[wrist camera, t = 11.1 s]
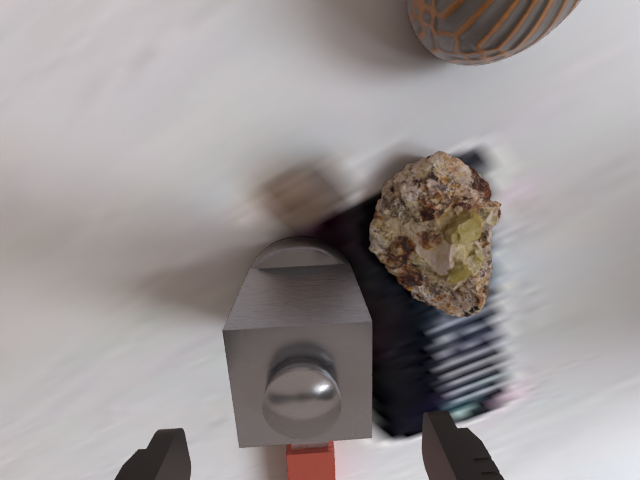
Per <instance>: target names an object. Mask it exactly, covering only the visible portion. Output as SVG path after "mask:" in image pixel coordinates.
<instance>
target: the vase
mask: <svg viewBox="0 0 640 480" xmlns="http://www.w3.org/2000/svg"><path fill="white" fill-rule="evenodd" d="M406 1H407V10H408V15H409V19H410V22H411V25H412V28H413V30H414V32H415V34H416V36H417V37H418V39H419V40H420V42H421V43H422V44H423V45H424V47H425V48H426V49H427V50H429V51H430V52H431V53H432V54H433V55H435V56H436V57H438V58H440V59H442V60H444V61H447V62H450V63H454V64H458V65H484V64H489V63H493V62H496V61H500V60H503V59H505V58H508V57H511V56H513V55H515V54H517V53H519V52H521V51H523V50H525V49H527V48H529V47H530V46H532V45H534V44H535V43H537V42H538V41H539V40H541V39H542V38H544V37H545V36H546V35H547V34H549V33H550V32H551V31H552V30H553V29H554V28H556V27H557V26H558V25H559V24H560V23H561V22H562V21H563V20H564V19H565V18H566V17H567V16H568V15H569V14H570V13H571V12H572V11H573V10H574V8H575V7H576V6H577V5H578V4H579V3H580V1H581V0H406Z"/></svg>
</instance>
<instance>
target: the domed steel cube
mask: <svg viewBox="0 0 640 480" xmlns="http://www.w3.org/2000/svg"><path fill="white" fill-rule="evenodd" d="M222 331H223V338H224V345H225V352H226V358H227V365H228V372H229V379H230V386H231V393H232V400H233V407H234V414H235V421H236V428H237V435H238V442H239V448H245V447H258V446H271V445H284V444H298V443H311V442H324V441H338V440H351V439H364V438H372V319H371V317H370V314H369V312H368V309H367V306H366V304H365V301H364V299H363V296H362V294H361V291H360V288H359V286H358V283H357V281H356V278H355V276H354V273H353V270H352V268H351V265H350V263H349V264H331V265H314V266H296V267H279V268H261V269H249V271H248V273H247V276H246V278H245V280H244V282H243V285H242V287H241V289H240V292H239V294H238V296H237V298H236V301H235V303H234V305H233V308H232V310H231V312H230V314H229V317H228V319H227V321H226V324H225V326H224V328H223V330H222Z"/></svg>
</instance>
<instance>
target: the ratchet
mask: <svg viewBox="0 0 640 480" xmlns="http://www.w3.org/2000/svg"><path fill="white" fill-rule="evenodd" d="M331 264H349V262H348V260H347V259H346V258H345V256H344V255H343V254H342V253H341V252H340V251H339V250H338V249H337V248H335V247H334V246H333V245H331V244H329V243H327V242H325V241H323V240H320V239H317V238H313V237H306V236H297V237H290V238H285V239H282V240H280V241H277V242H275V243H273V244H271V245H270V246H268V247H267V248H266V249H264V250H263V251H262V252H261V253H260V254H259V255H258V257H257V258H256V259H255V261H254V262H253V264H252V266H251V268H250V269H261V268H279V267H296V266H314V265H331ZM286 458H287V469H288V480H335V458H334V444H333V441H324V442H311V443H298V444H287V451H286Z"/></svg>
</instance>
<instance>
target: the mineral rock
mask: <svg viewBox="0 0 640 480" xmlns="http://www.w3.org/2000/svg"><path fill="white" fill-rule="evenodd" d="M490 197H491V191H490V188H489V184H488V182H487V181H486V180H485V179H484V178H482V177H481V175H480V174H479V173H478V172H476V171H475V170H474V169H473V168H471V167H469V166H467V165H465V164H464V163H463V162H462V161H461V160H460V159H458V158H456V157H453V156H451V155H449V154H447V153H445V152H441V151H438V152H436V153H435V154H434V155H432V156H428V157H427V158H421V159H420V160H419V161H417V162H415V163H407V164H406V166H405V168H404V169H403V170H402V171H401V172H399V173H397V174H396V175H394V176H393V177H392V178H391V179H390V180H388V181H386V182H385V184H384V186H383V187H382V198H381V199H380V200H378V202H377V205H376V208H375V213H374V215H373V218H374V219H373V220H372V222H371V223H370V228H369V234H370V237H369V240H370V241H371V242H370V246H369V250H370V251H371V252H373V253H374V254H375V255H376V256H377V257H378V259H379V260H380V262H381V263H383V264H385V268H386V269H387V270H388V272H389V273H391V274H392V275H395V276H396V278H397V282H399V284H402V286H403V287H404V288H405V289H407V290H409V291H411V295H412V297H413V298H414V299H417V300H419V301H423V302H425V303H426V305H427V306H429V305H433V306H434V307H436V308H437V309H441V310H442V311H445V313H447V314H449V315H451V316H458V317H460V316H466V317H468V316H471V315H474V314H477V313H478V312H479V311H480V310H481V309H482V308H483V306H484V304H485V298H486V297H487V296H488V295H489V280H490V278H491V277H490V276H491V270H492V269H493V267H492V265H491V262H492V255H491V249H490V247H491V241H492V233H491V228H492V227H493V226H494V225H496V223H497V222H498V220H499V218H500V215H501V211H500V209H499V207H500V206H501V204H500V203H498V202H496V201H495V202H492V201H491V200H490Z"/></svg>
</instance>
